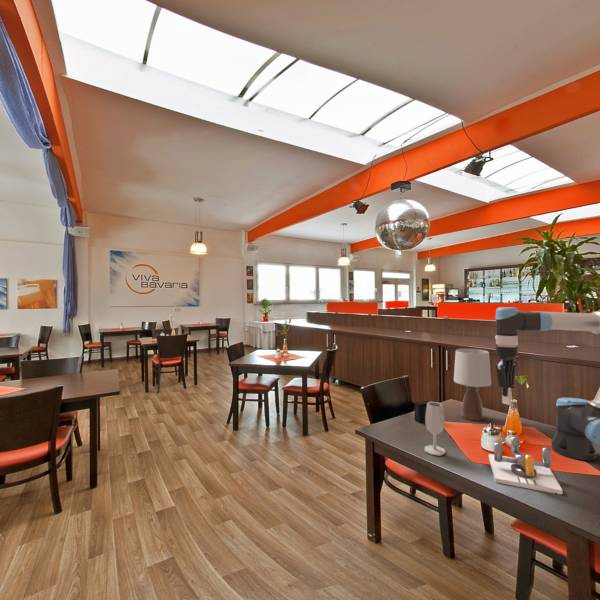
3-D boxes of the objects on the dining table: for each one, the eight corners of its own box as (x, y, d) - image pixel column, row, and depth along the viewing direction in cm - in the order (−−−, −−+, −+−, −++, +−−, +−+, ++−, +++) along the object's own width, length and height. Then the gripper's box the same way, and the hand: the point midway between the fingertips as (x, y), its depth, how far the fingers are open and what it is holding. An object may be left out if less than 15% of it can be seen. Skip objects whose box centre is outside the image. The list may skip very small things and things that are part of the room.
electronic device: (414, 420, 181) (414, 402, 181) (429, 418, 184) (429, 400, 184) (419, 423, 177) (419, 404, 177) (435, 420, 180) (434, 402, 180)
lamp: (492, 414, 188) (492, 349, 187) (490, 426, 172) (490, 355, 171) (456, 409, 198) (455, 347, 197) (451, 419, 182) (451, 352, 181)
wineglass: (428, 445, 152) (427, 399, 151) (448, 450, 146) (447, 403, 146) (421, 452, 145) (421, 404, 144) (442, 458, 139) (441, 408, 139)
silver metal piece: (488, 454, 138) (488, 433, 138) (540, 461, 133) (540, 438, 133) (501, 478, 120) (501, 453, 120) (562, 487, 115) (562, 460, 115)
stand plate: (546, 466, 132) (546, 462, 132) (562, 494, 113) (562, 489, 113) (488, 457, 140) (488, 453, 140) (495, 482, 121) (495, 477, 121)
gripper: (504, 343, 140) (504, 398, 141) (488, 345, 133) (488, 404, 134) (524, 345, 134) (524, 403, 135) (508, 348, 127) (508, 409, 127)
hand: (506, 403), depth 134 cm, fingers closed
